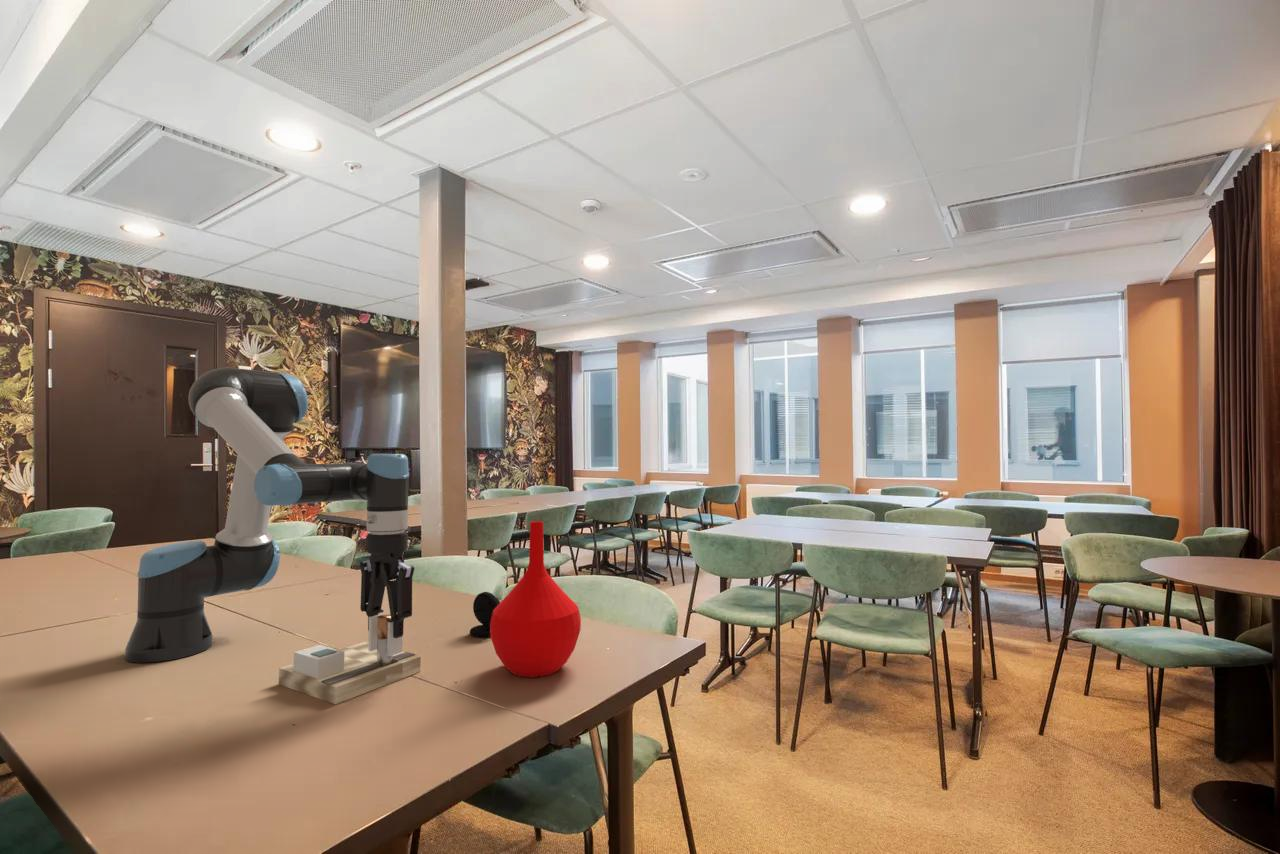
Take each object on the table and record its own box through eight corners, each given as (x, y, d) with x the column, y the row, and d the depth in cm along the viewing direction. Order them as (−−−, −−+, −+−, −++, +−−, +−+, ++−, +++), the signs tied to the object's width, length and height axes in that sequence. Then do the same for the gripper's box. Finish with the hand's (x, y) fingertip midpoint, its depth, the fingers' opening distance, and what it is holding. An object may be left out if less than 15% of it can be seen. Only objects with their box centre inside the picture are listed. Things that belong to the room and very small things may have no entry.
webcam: (508, 632, 145) (508, 591, 145) (485, 640, 138) (485, 597, 139) (486, 627, 149) (486, 587, 149) (462, 634, 142) (463, 593, 143)
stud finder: (293, 671, 111) (293, 651, 111) (319, 662, 115) (319, 643, 115) (318, 679, 107) (318, 658, 107) (344, 670, 111) (344, 650, 111)
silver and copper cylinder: (373, 679, 114) (374, 617, 115) (386, 674, 117) (387, 613, 117) (382, 682, 113) (383, 619, 113) (395, 677, 115) (396, 615, 116)
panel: (278, 684, 112) (279, 667, 112) (364, 655, 128) (364, 640, 128) (335, 704, 103) (335, 685, 103) (420, 671, 118) (420, 655, 119)
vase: (596, 661, 124) (597, 519, 126) (548, 693, 108) (549, 529, 109) (525, 648, 132) (526, 515, 134) (469, 676, 116) (471, 524, 117)
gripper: (341, 530, 117) (339, 649, 116) (401, 537, 108) (398, 665, 107) (375, 526, 124) (373, 638, 123) (433, 532, 115) (432, 653, 114)
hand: (385, 651), depth 115 cm, fingers open, 5 cm apart
